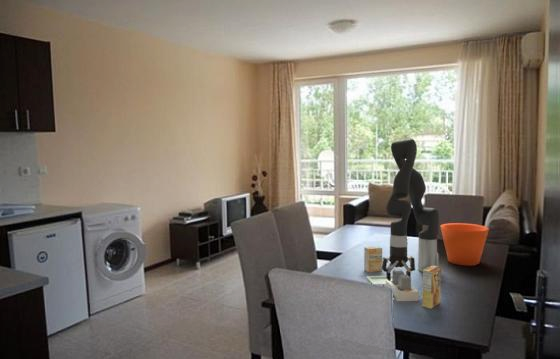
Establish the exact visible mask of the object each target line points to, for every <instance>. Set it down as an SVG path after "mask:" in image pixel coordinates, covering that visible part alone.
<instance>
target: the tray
mask: <svg viewBox="0 0 560 359" xmlns="http://www.w3.org/2000/svg"><path fill="white" fill-rule="evenodd" d="M392 275H393V274H391V280H392ZM366 279H367V281H368V282H369V283H370V284H371V283H372V284H378V285H384V286H383V287H386V280H388V279H387V278H386V275H367V276H366ZM372 284H371V285H372Z"/></svg>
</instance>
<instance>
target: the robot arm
mask: <svg viewBox="0 0 560 359" xmlns="http://www.w3.org/2000/svg"><path fill="white" fill-rule="evenodd" d="M390 151H391V155H392V157H393V159H394V161H395V163H396V165H397V168H398V171H397V173H396V175H395V176H394V180H393V184H392V192H391V195H390V198H389V199H388V201H387V204H386V207H385V208H386V209H385V211H386V213H387V214H388V215H389V216H392V217H402V218H401V219H398V220H394V221H391V223H390V236H389V257H385V256H382V271H383V272H385V273H386V275H385V276H386V278H387V279H388V281H391V275H392V273H391V272H392V271H393V270H394V268H404V269H405V270H406V271H405V275H408V276H409V277H410V278H412V277H411V275H412V272H413V271H415V270H416V264H415V263H416V262H415V261H416V260H415V257H413V255H412V256H411V255H410V256H408V232H407V231H408V221H409V217H410V215H411V212H412V211H413V214H414V218H415V221H416V222H417V223H418V224H419V225H422V226H427V229H426V230H422V231H419V232H418V253H417V254H418V255H417V256H418V260H417V261H418V263H417V264H418V265H417V269H418V271H419V272H422V273H423V270H424V269H426V268H428V267H430V266H438V267H439V263H440V262H439V260H440V259H439V258H440V257H439V256H440V254H439V253H438V234H439V226H440V225H439V224H440V213H439V210H438V209H437V208H435V207H425V206H424V205H423V202H422V200H423V197H424V195H425V193H426V191H427V190H426V189H427V188H426V184H425V180H424V177H423V176H422V174H421V173H420V172H418V170H416V169H415V168H414V165H415V161H416V157H417V153H418V147H417V142H416V140H415V139H413V138H405V139H400V140H395V141H392V143H391V145H390ZM408 196H409V200H410V201H408V200H402V199H405V198H407V197H408ZM410 202H411V203H410ZM408 262H409V265H408V264H407V263H408ZM388 263H389V264H388ZM387 264H388V266H387ZM409 266H410V267H409Z"/></svg>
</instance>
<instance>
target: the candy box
mask: <svg viewBox="0 0 560 359" xmlns="http://www.w3.org/2000/svg"><path fill="white" fill-rule="evenodd" d="M441 275H442V267H441V266H439V265H438V266H430V267H428V268H426V269H424V270H423V272H422V291H421V292H422V295H421V296H422V300H421V301H422V302H421V303H422V304H421V305H422V306H421V307H423V308H427V309H433V308H435V307H436V306H437V305H439V304H441V282H442V281H441V280H442V279H441V278H442V277H441Z"/></svg>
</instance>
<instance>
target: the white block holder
mask: <svg viewBox="0 0 560 359" xmlns="http://www.w3.org/2000/svg"><path fill="white" fill-rule="evenodd" d="M411 278H412V277H411ZM411 278H410V277H409V276H408V275H406V274H404V275H400V276H399V277H398V285H394V284H393V283H392V280H391V281H388V280H386V286H388V287H390V288H392V290H393V294H392V295H393V298H394V300H395V301H396V302H419V291H418V289H416V288H415V286H413V285H412V279H411ZM386 286H385V287H386Z"/></svg>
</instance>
